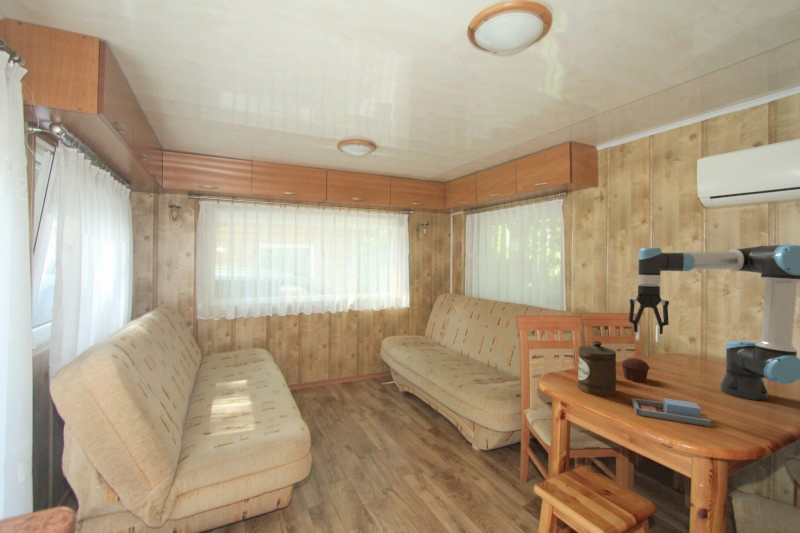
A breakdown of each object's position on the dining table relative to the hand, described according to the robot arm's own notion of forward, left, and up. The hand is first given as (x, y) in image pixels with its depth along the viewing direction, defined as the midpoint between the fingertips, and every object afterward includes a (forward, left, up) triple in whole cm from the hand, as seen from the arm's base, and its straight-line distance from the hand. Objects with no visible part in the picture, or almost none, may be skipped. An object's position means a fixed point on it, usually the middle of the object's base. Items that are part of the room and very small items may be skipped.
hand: (647, 340), depth 148 cm
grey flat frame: (-5, +12, -25) cm, 28 cm away
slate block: (-9, +12, -25) cm, 29 cm away
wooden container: (+18, -4, -25) cm, 31 cm away
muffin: (0, -29, -25) cm, 38 cm away
